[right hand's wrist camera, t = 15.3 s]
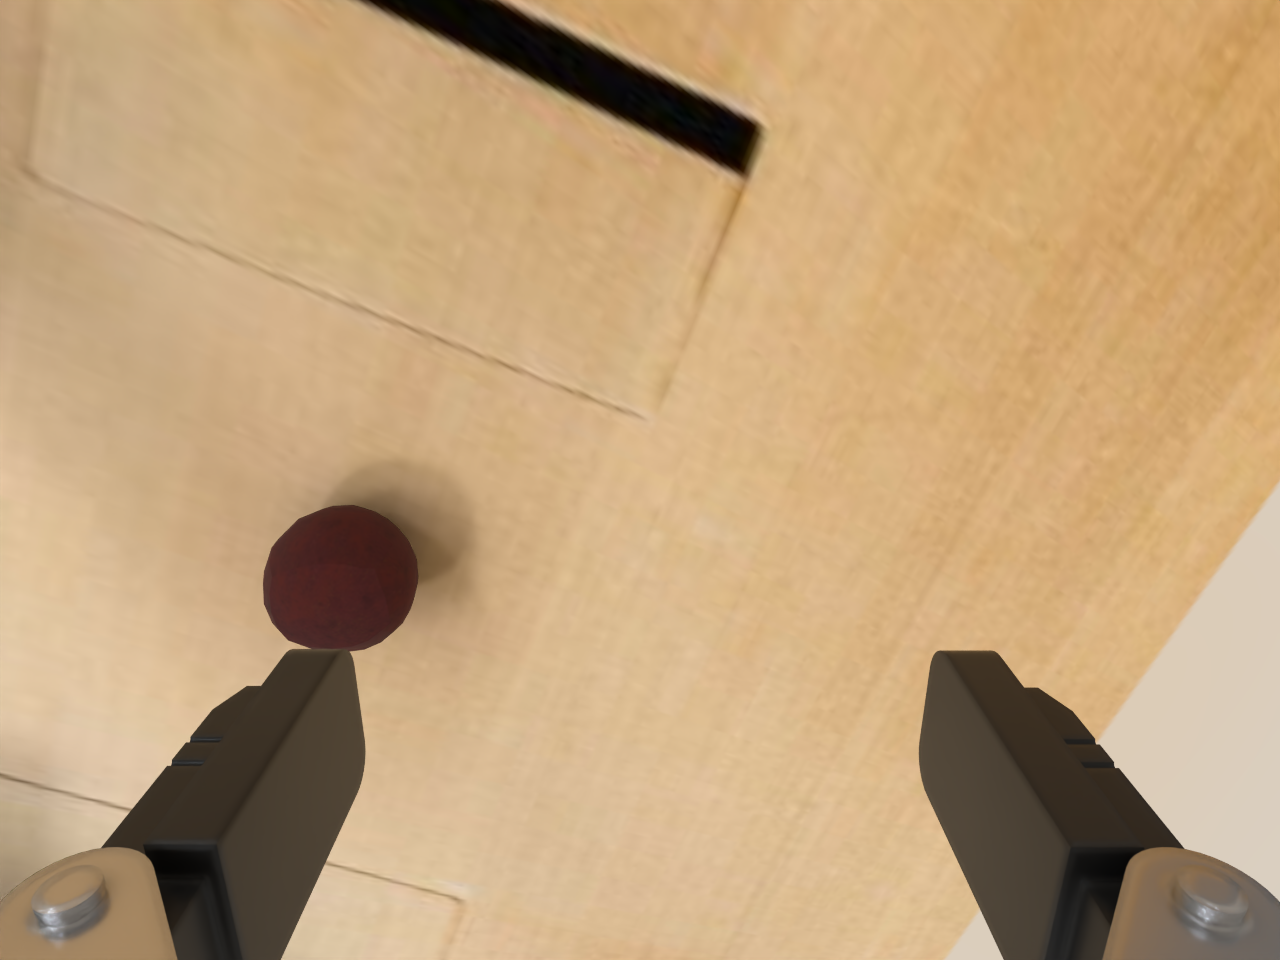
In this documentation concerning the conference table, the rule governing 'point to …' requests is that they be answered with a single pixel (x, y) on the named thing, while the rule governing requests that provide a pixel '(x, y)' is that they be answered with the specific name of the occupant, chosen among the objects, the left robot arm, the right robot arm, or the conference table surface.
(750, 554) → the conference table surface
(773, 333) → the conference table surface
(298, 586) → the dark red ball
